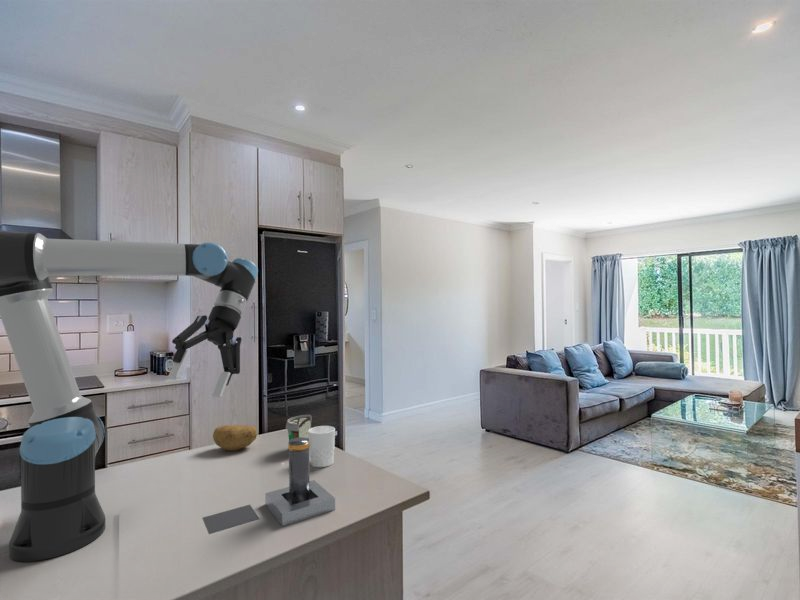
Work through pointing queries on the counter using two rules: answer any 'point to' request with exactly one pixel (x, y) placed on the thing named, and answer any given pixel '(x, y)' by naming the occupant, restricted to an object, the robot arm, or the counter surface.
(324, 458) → the white cup
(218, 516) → the mount
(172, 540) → the counter surface
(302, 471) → the cylinder
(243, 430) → the potato
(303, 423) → the food container
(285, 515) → the socket
